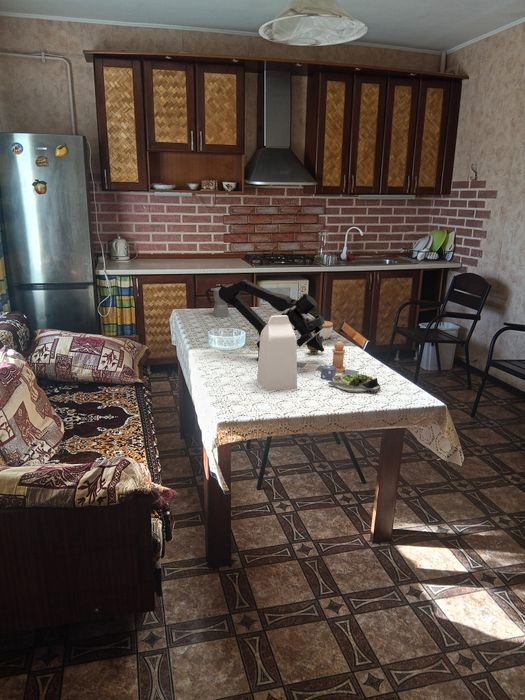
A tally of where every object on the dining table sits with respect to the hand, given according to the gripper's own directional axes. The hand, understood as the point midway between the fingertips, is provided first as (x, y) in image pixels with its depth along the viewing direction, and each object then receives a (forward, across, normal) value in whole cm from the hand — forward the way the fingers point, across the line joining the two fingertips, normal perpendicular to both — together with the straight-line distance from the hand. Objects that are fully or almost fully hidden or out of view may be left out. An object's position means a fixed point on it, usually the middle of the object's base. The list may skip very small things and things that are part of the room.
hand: (323, 351), depth 217 cm
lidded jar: (-4, +46, +15) cm, 48 cm away
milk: (-2, -25, +13) cm, 28 cm away
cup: (-1, +18, +12) cm, 22 cm away
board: (+6, 0, +5) cm, 8 cm away
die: (+9, -10, +2) cm, 13 cm away
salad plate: (+18, -13, -6) cm, 23 cm away
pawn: (+10, 0, +1) cm, 10 cm away
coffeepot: (-51, +64, +61) cm, 102 cm away
